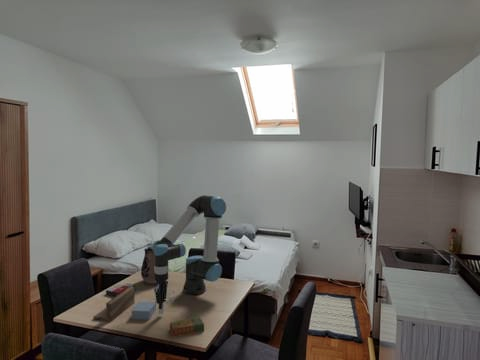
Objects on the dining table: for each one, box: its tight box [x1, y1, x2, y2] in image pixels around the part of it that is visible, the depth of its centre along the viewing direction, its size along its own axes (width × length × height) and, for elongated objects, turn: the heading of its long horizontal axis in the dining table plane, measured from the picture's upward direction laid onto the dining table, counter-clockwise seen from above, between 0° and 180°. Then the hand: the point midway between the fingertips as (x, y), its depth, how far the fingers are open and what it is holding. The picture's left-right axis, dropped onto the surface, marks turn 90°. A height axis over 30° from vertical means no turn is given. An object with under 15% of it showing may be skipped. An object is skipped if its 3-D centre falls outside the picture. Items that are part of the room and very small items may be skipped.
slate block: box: [131, 301, 157, 320], centre depth 186 cm, size 10×12×5 cm
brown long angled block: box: [93, 287, 135, 323], centre depth 190 cm, size 11×24×10 cm, turn 168°
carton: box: [169, 316, 205, 338], centre depth 169 cm, size 8×16×4 cm, turn 113°
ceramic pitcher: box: [140, 245, 157, 285], centre depth 237 cm, size 18×21×25 cm
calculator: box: [105, 282, 136, 298], centre depth 217 cm, size 11×4×15 cm
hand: (161, 313), depth 184 cm, fingers closed
